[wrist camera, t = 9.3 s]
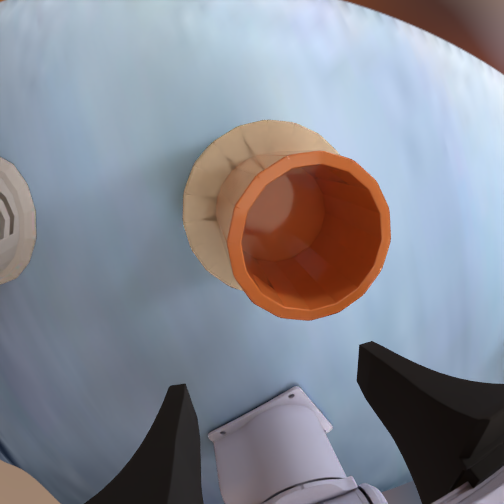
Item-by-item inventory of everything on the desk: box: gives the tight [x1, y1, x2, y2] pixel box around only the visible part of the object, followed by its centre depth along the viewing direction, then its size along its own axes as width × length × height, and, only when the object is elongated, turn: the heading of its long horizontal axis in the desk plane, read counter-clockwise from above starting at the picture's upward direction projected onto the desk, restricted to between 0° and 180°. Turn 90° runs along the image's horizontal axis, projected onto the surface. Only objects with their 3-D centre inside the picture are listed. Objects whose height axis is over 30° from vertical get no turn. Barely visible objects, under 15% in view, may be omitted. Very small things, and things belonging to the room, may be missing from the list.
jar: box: [183, 120, 340, 291], centre depth 17 cm, size 8×8×6 cm
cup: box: [216, 150, 391, 321], centre depth 12 cm, size 5×5×6 cm
